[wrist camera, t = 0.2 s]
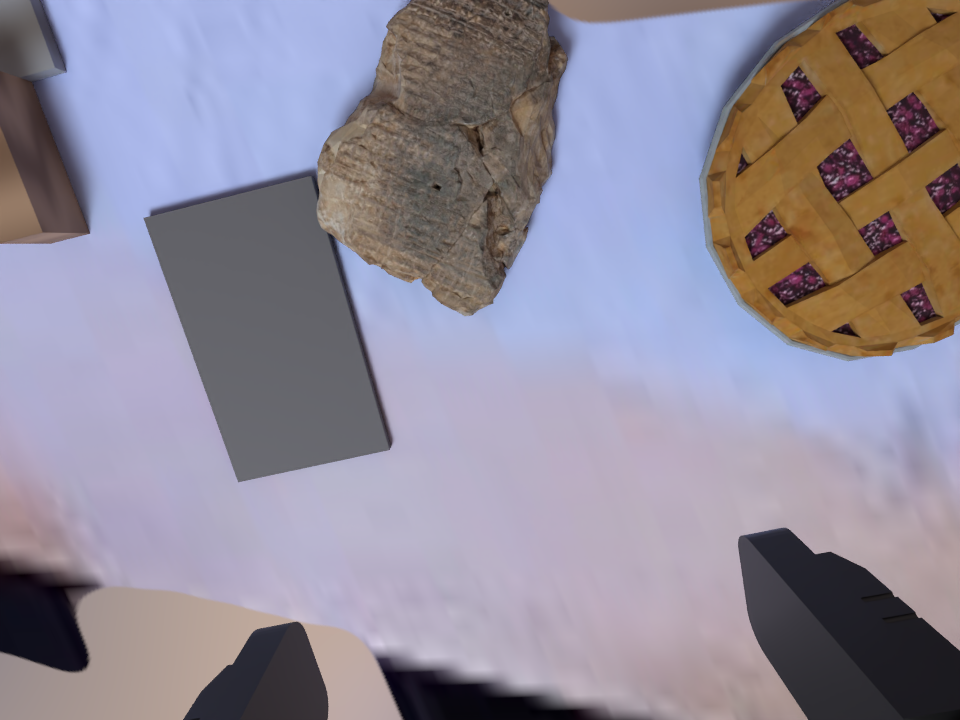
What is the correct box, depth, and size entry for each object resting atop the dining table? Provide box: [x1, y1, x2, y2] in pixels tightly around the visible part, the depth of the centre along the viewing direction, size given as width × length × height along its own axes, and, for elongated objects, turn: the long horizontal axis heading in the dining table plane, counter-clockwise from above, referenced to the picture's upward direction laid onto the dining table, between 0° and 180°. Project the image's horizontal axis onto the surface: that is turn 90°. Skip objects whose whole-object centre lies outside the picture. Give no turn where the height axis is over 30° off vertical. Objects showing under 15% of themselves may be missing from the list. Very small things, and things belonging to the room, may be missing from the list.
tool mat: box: [144, 176, 391, 482], centre depth 38 cm, size 20×12×1 cm, turn 13°
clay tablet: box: [316, 0, 568, 316], centre depth 33 cm, size 14×5×20 cm
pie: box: [699, 0, 960, 361], centre depth 33 cm, size 22×22×5 cm
